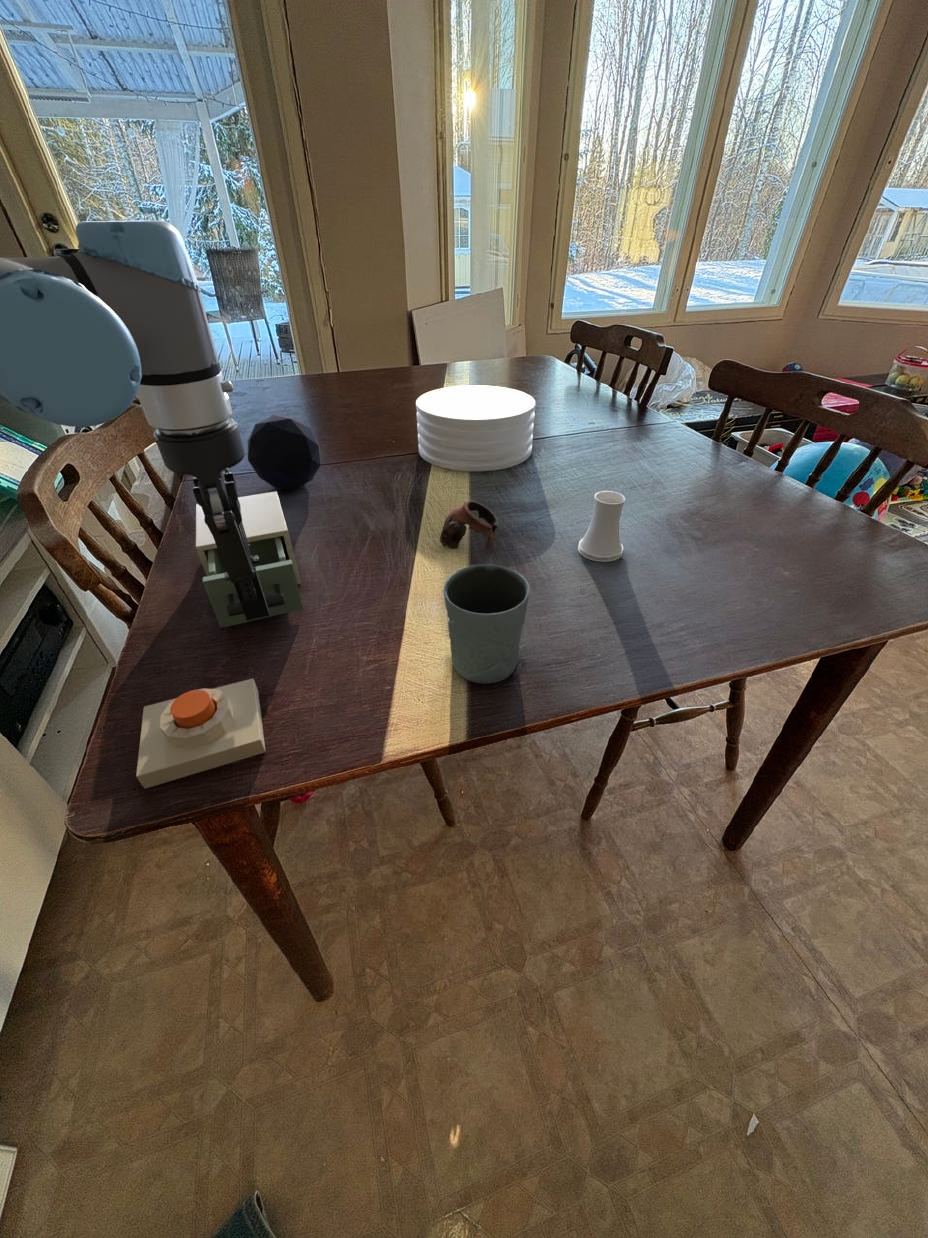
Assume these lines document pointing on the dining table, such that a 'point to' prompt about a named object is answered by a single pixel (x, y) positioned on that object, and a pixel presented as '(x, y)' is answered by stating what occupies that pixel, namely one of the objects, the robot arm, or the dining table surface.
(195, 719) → the button
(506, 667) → the green cup
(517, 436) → the plate stack
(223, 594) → the green drawer
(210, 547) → the white drawer cabinet
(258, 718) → the control block
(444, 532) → the brown curved piece
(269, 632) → the dining table surface
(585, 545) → the vase
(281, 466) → the decorative orb
